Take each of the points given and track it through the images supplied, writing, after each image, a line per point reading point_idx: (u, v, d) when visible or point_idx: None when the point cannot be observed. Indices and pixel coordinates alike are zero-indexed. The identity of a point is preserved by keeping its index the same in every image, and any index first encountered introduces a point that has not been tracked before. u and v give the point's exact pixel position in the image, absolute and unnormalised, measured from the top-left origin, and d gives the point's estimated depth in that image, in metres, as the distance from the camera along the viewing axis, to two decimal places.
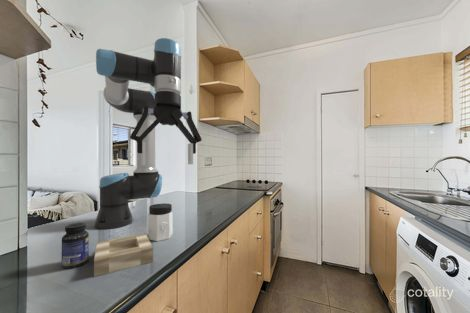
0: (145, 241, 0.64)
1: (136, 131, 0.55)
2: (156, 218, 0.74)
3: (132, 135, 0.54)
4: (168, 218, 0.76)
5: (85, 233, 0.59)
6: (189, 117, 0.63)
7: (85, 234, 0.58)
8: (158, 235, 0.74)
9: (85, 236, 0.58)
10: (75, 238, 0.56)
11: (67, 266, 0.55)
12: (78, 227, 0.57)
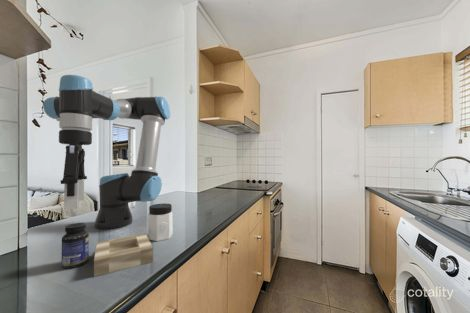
0: (145, 241, 0.64)
1: None
2: (156, 218, 0.74)
3: None
4: (168, 218, 0.76)
5: (85, 233, 0.59)
6: None
7: (85, 234, 0.58)
8: (158, 235, 0.74)
9: (85, 236, 0.58)
10: (75, 238, 0.56)
11: (67, 266, 0.55)
12: (78, 227, 0.57)
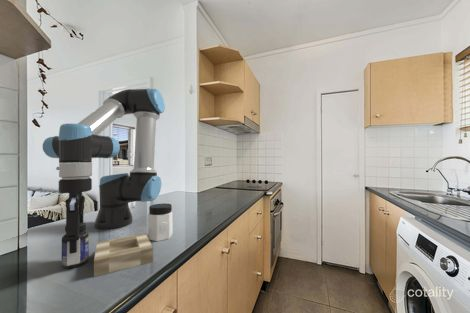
0: (145, 241, 0.64)
1: None
2: (156, 218, 0.74)
3: None
4: (168, 218, 0.76)
5: (85, 233, 0.58)
6: None
7: (85, 234, 0.58)
8: (158, 235, 0.74)
9: (85, 236, 0.58)
10: None
11: (67, 266, 0.55)
12: None
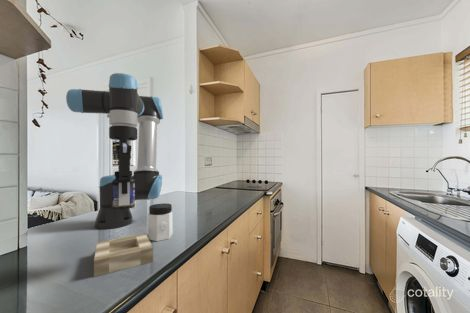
0: (145, 241, 0.64)
1: None
2: (156, 218, 0.74)
3: None
4: (168, 218, 0.76)
5: (132, 179, 0.62)
6: (119, 151, 0.56)
7: (132, 180, 0.61)
8: (158, 235, 0.74)
9: (133, 182, 0.61)
10: None
11: (118, 207, 0.58)
12: None
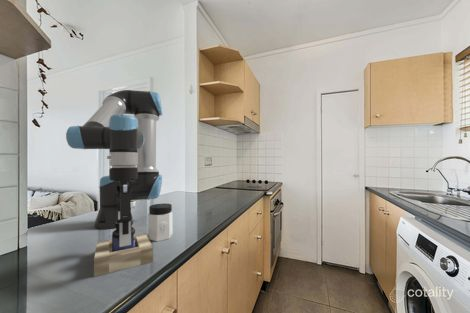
0: (145, 241, 0.64)
1: (118, 202, 0.68)
2: (156, 218, 0.74)
3: (118, 205, 0.69)
4: (168, 218, 0.76)
5: (133, 229, 0.61)
6: (120, 191, 0.55)
7: (133, 230, 0.61)
8: (158, 235, 0.74)
9: (133, 232, 0.61)
10: None
11: None
12: None
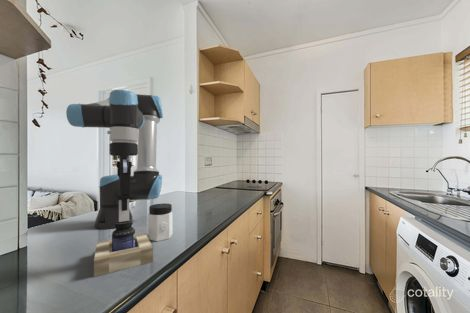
0: (145, 241, 0.64)
1: None
2: (156, 218, 0.74)
3: None
4: (168, 218, 0.76)
5: (132, 229, 0.61)
6: (120, 171, 0.57)
7: (133, 230, 0.61)
8: (158, 235, 0.74)
9: (133, 232, 0.61)
10: (125, 234, 0.59)
11: None
12: (127, 223, 0.60)
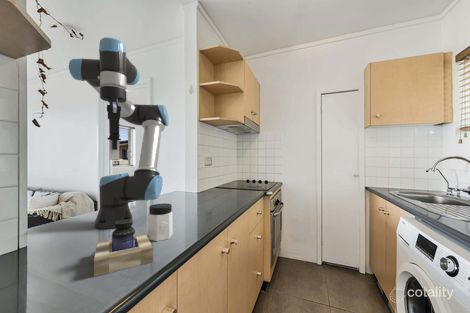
0: (145, 241, 0.64)
1: (109, 132, 0.69)
2: (156, 218, 0.74)
3: None
4: (168, 218, 0.76)
5: (132, 229, 0.61)
6: (110, 111, 0.63)
7: (133, 230, 0.61)
8: (158, 235, 0.74)
9: (133, 232, 0.61)
10: (125, 234, 0.59)
11: None
12: (127, 223, 0.60)
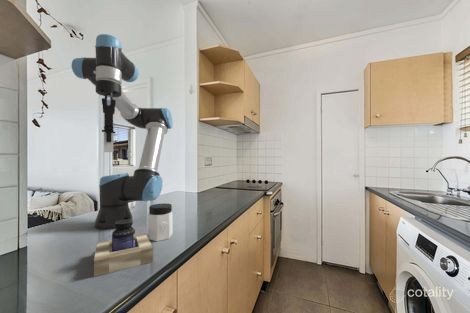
0: (145, 241, 0.64)
1: None
2: (156, 218, 0.74)
3: None
4: (168, 218, 0.76)
5: (132, 229, 0.61)
6: (104, 103, 0.64)
7: (133, 230, 0.61)
8: (158, 235, 0.74)
9: (133, 232, 0.61)
10: (125, 234, 0.59)
11: None
12: (127, 223, 0.60)
